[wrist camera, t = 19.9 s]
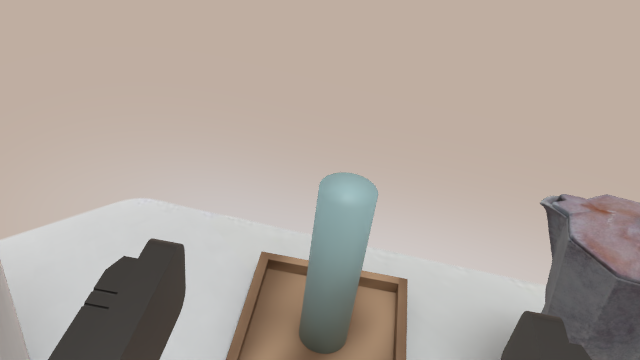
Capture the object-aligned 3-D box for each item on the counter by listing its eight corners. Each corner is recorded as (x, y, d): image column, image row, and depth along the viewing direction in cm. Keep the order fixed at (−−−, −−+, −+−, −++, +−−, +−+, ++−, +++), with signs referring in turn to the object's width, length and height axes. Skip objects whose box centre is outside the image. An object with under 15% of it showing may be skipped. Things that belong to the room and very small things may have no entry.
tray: (219, 392, 41) (219, 378, 40) (260, 265, 52) (261, 251, 51) (399, 428, 41) (405, 415, 40) (403, 292, 52) (407, 279, 51)
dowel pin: (294, 348, 45) (314, 202, 36) (303, 310, 48) (323, 168, 39) (344, 358, 44) (376, 213, 36) (349, 319, 48) (379, 178, 39)
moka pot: (493, 318, 51) (581, 131, 39) (673, 426, 44) (845, 239, 32) (446, 388, 44) (534, 189, 32) (649, 526, 37) (853, 338, 26)
